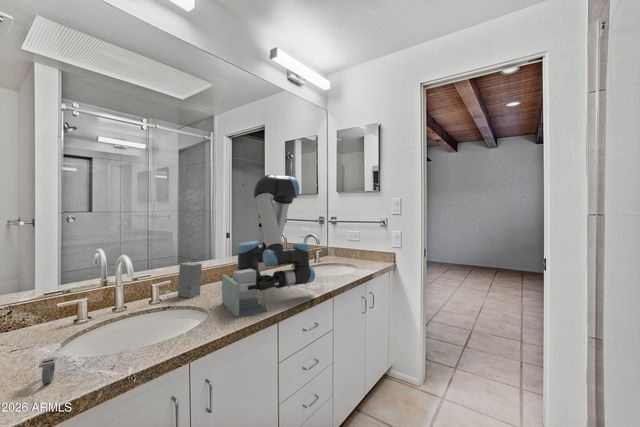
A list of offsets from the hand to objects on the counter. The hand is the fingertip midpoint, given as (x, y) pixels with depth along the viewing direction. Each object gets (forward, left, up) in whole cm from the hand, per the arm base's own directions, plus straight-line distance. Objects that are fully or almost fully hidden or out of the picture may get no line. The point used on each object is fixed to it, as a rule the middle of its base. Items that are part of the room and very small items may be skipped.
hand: (235, 285), depth 117 cm
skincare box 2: (0, +4, -9) cm, 10 cm away
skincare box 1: (-31, -13, -10) cm, 35 cm away
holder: (0, +4, -10) cm, 11 cm away
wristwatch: (+26, -52, -10) cm, 59 cm away
